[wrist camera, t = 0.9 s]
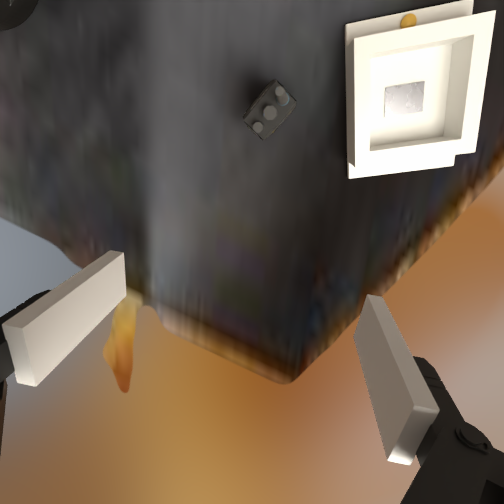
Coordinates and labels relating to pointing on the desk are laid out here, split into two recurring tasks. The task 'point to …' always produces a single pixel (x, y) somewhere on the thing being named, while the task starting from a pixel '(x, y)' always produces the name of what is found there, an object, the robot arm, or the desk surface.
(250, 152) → the desk surface
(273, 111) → the walkie-talkie
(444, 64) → the charging cradle
